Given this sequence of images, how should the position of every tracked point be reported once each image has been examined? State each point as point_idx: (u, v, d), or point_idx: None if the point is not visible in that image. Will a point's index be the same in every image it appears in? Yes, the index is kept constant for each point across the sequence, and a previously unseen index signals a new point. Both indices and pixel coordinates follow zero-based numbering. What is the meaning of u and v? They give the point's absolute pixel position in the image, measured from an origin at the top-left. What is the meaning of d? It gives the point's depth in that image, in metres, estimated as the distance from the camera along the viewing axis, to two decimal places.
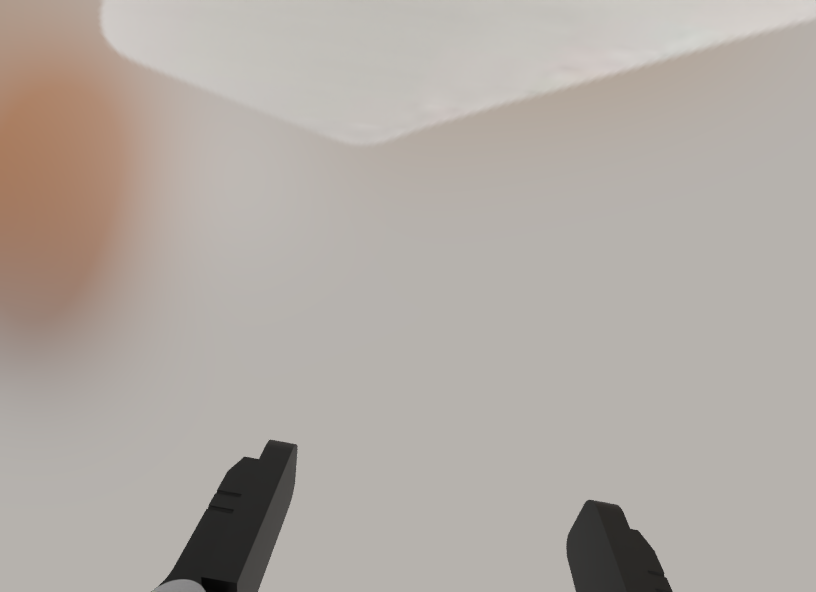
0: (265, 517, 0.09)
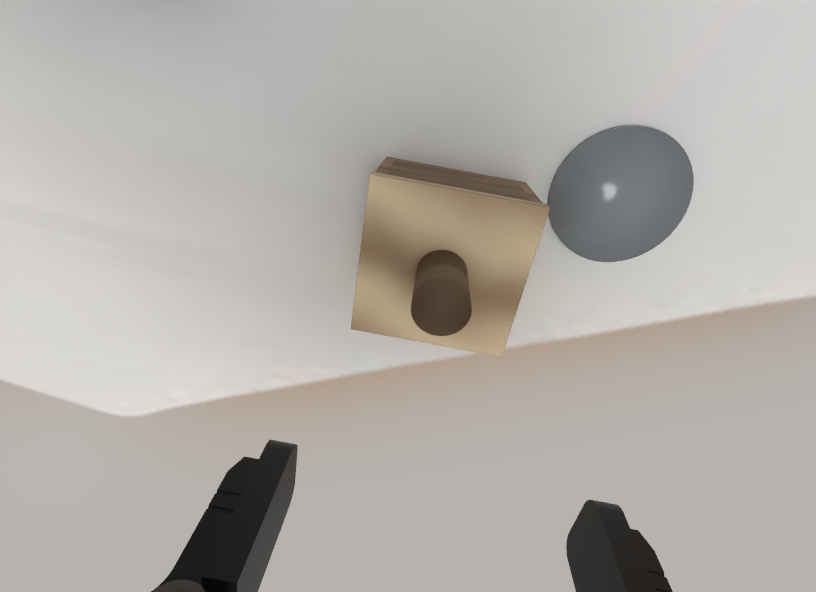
0: (265, 517, 0.09)
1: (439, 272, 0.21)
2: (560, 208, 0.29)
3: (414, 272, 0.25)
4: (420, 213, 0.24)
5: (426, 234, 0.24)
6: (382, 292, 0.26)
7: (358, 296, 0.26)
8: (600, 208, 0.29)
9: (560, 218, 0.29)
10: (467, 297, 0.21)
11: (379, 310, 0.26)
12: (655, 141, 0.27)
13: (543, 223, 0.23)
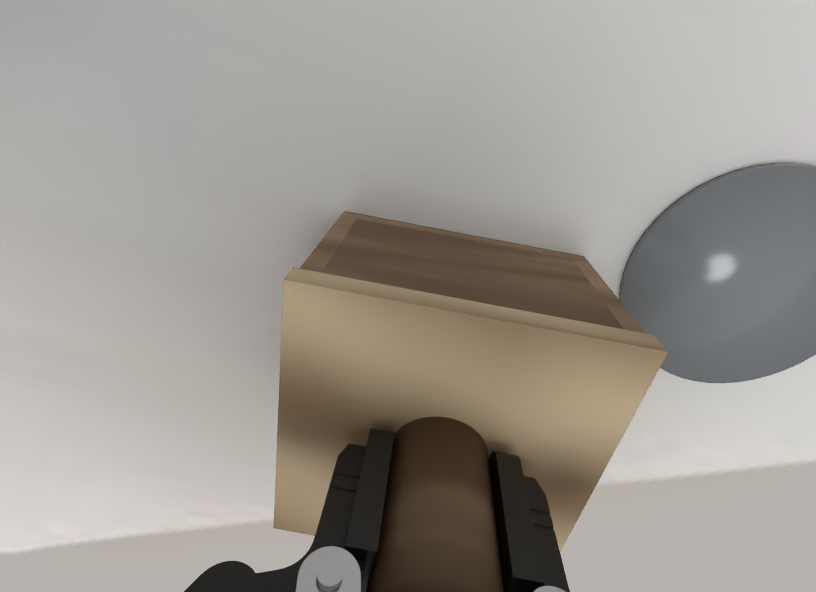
0: (384, 496, 0.10)
1: (431, 521, 0.09)
2: (644, 301, 0.17)
3: None
4: (393, 354, 0.11)
5: (407, 391, 0.12)
6: (325, 478, 0.14)
7: (282, 482, 0.14)
8: (713, 302, 0.17)
9: (641, 316, 0.17)
10: None
11: (322, 504, 0.14)
12: None
13: (649, 378, 0.11)
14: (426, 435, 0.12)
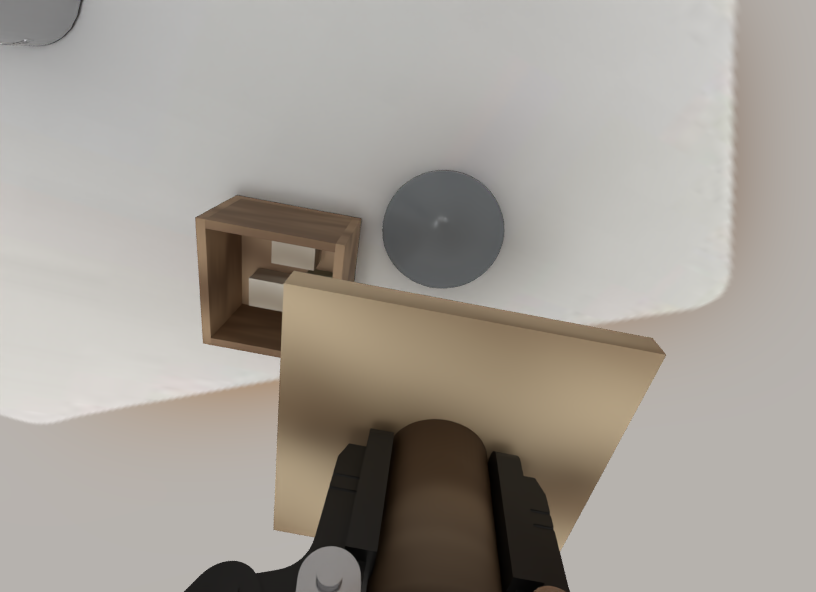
0: None
1: (431, 524, 0.09)
2: (392, 241, 0.32)
3: None
4: (393, 356, 0.11)
5: (406, 394, 0.12)
6: (325, 480, 0.14)
7: (282, 484, 0.14)
8: (426, 242, 0.32)
9: (394, 250, 0.33)
10: None
11: (322, 506, 0.14)
12: (463, 184, 0.30)
13: (648, 380, 0.11)
14: (425, 438, 0.12)
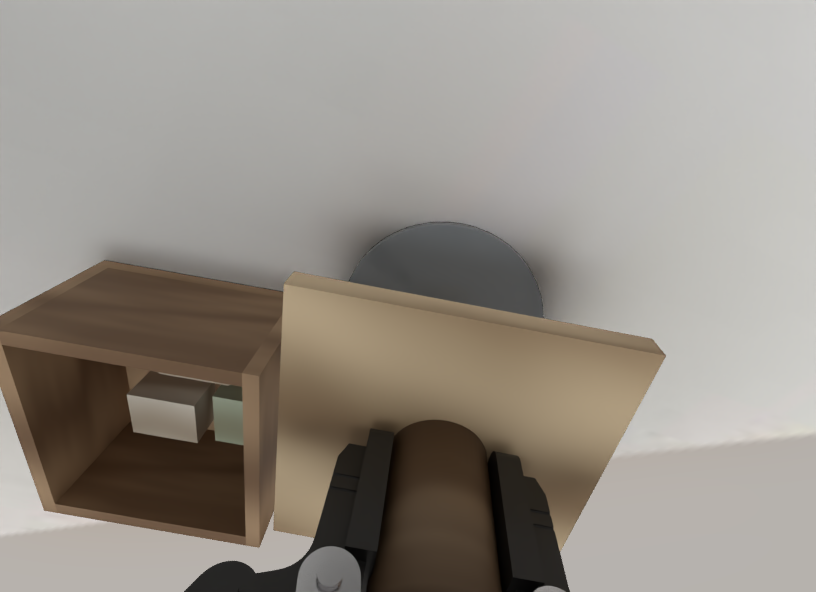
0: (384, 496, 0.10)
1: (430, 525, 0.09)
2: None
3: None
4: (393, 357, 0.11)
5: (406, 394, 0.12)
6: (325, 481, 0.14)
7: (282, 484, 0.14)
8: None
9: None
10: None
11: (322, 506, 0.14)
12: (475, 247, 0.18)
13: (648, 381, 0.11)
14: (425, 438, 0.12)
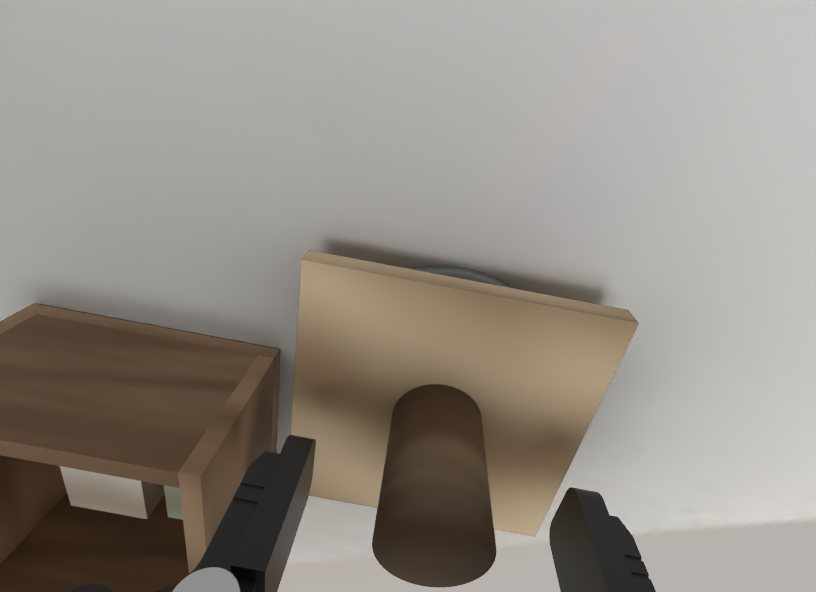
0: (289, 509, 0.09)
1: (431, 466, 0.11)
2: None
3: (389, 416, 0.14)
4: (397, 326, 0.13)
5: (409, 360, 0.13)
6: (335, 443, 0.15)
7: None
8: None
9: None
10: (487, 533, 0.10)
11: (332, 467, 0.16)
12: None
13: (623, 347, 0.13)
14: (426, 399, 0.13)
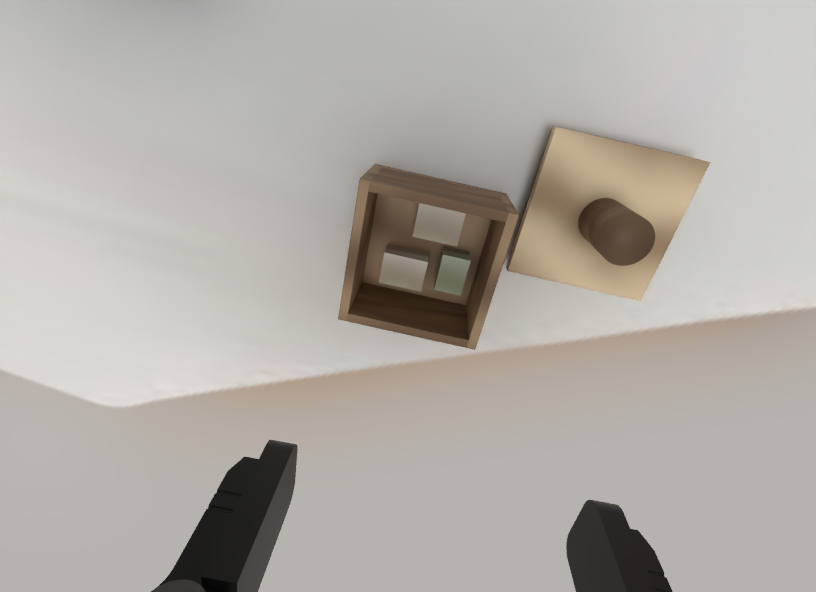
0: (265, 517, 0.09)
1: (623, 210, 0.25)
2: None
3: (577, 218, 0.29)
4: (594, 163, 0.27)
5: (595, 183, 0.28)
6: (544, 236, 0.29)
7: (521, 240, 0.29)
8: None
9: None
10: (653, 230, 0.24)
11: (537, 253, 0.30)
12: None
13: (701, 177, 0.27)
14: (605, 200, 0.27)
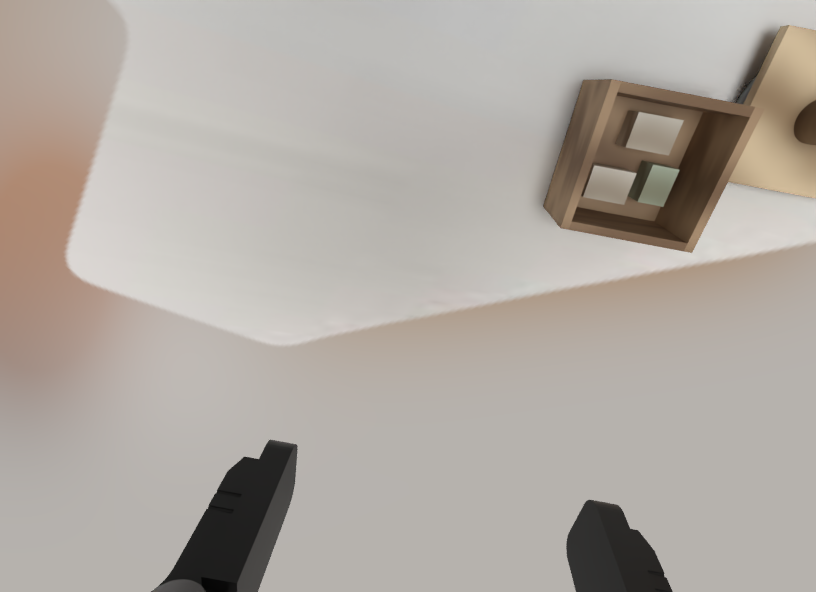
0: (265, 517, 0.09)
1: None
2: None
3: (793, 120, 0.30)
4: None
5: None
6: (756, 141, 0.30)
7: None
8: None
9: None
10: None
11: (747, 159, 0.31)
12: None
13: None
14: None
